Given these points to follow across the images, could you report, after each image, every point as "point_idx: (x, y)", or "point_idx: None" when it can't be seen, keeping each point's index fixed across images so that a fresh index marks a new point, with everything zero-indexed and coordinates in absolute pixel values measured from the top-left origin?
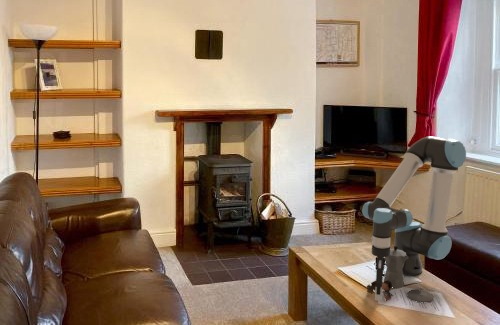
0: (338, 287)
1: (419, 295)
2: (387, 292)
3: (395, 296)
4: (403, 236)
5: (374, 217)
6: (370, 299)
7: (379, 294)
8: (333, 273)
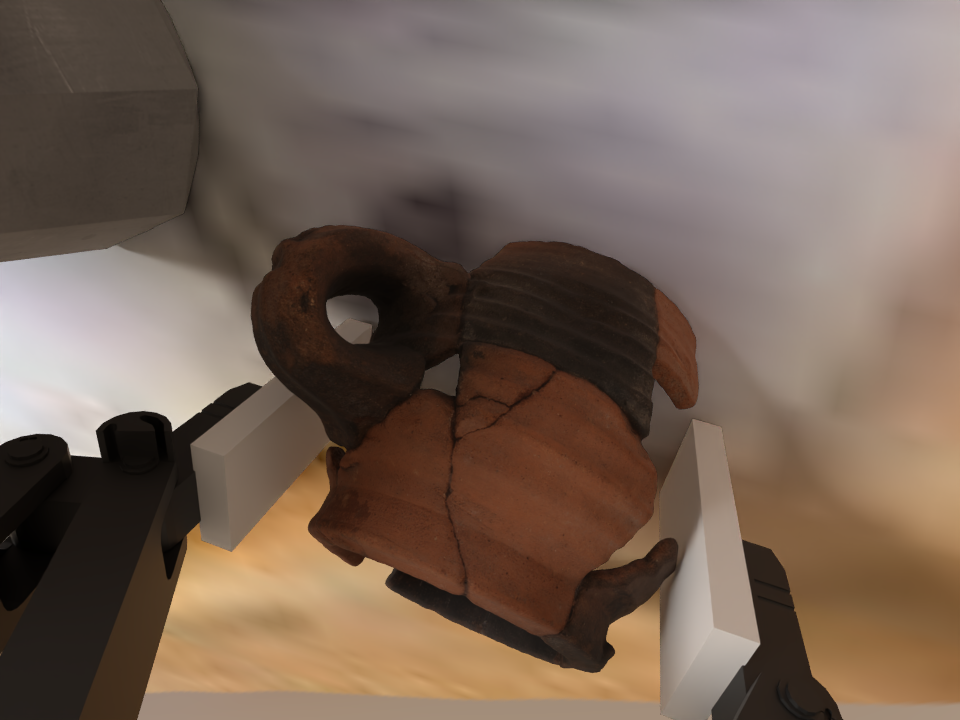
0: (349, 680)
1: None
2: (647, 386)
3: (501, 145)
4: None
5: None
6: None
7: (771, 561)
8: None
